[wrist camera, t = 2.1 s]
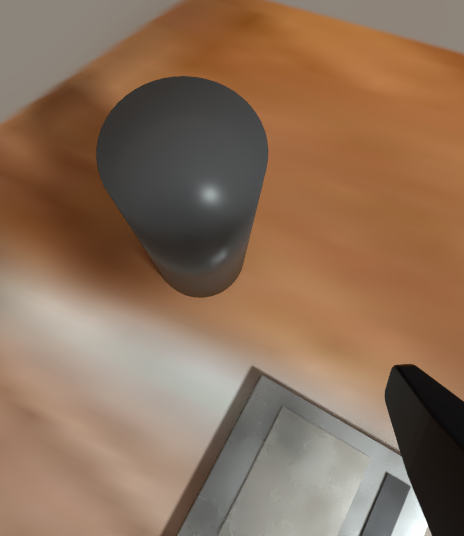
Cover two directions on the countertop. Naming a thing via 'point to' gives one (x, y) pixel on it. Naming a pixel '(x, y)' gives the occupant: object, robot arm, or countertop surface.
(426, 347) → the countertop surface
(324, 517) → the label plate
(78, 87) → the countertop surface
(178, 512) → the countertop surface
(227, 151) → the post
